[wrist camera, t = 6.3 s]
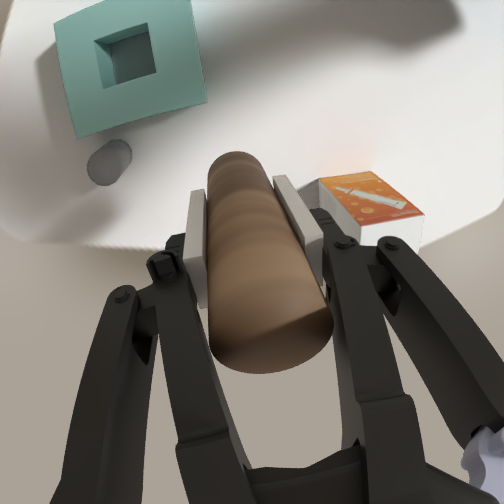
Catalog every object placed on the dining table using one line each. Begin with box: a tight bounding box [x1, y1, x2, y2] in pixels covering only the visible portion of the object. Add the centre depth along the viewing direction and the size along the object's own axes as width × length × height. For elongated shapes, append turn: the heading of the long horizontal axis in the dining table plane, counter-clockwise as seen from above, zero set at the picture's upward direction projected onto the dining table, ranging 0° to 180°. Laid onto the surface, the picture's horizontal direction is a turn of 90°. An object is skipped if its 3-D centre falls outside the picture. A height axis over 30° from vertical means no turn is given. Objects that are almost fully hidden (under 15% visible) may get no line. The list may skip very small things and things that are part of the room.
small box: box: [318, 171, 425, 255], centre depth 33 cm, size 8×6×13 cm
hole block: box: [54, 0, 207, 140], centre depth 23 cm, size 14×14×5 cm
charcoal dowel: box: [87, 140, 132, 186], centre depth 29 cm, size 4×4×5 cm
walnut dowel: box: [207, 151, 334, 374], centre depth 15 cm, size 4×4×14 cm
